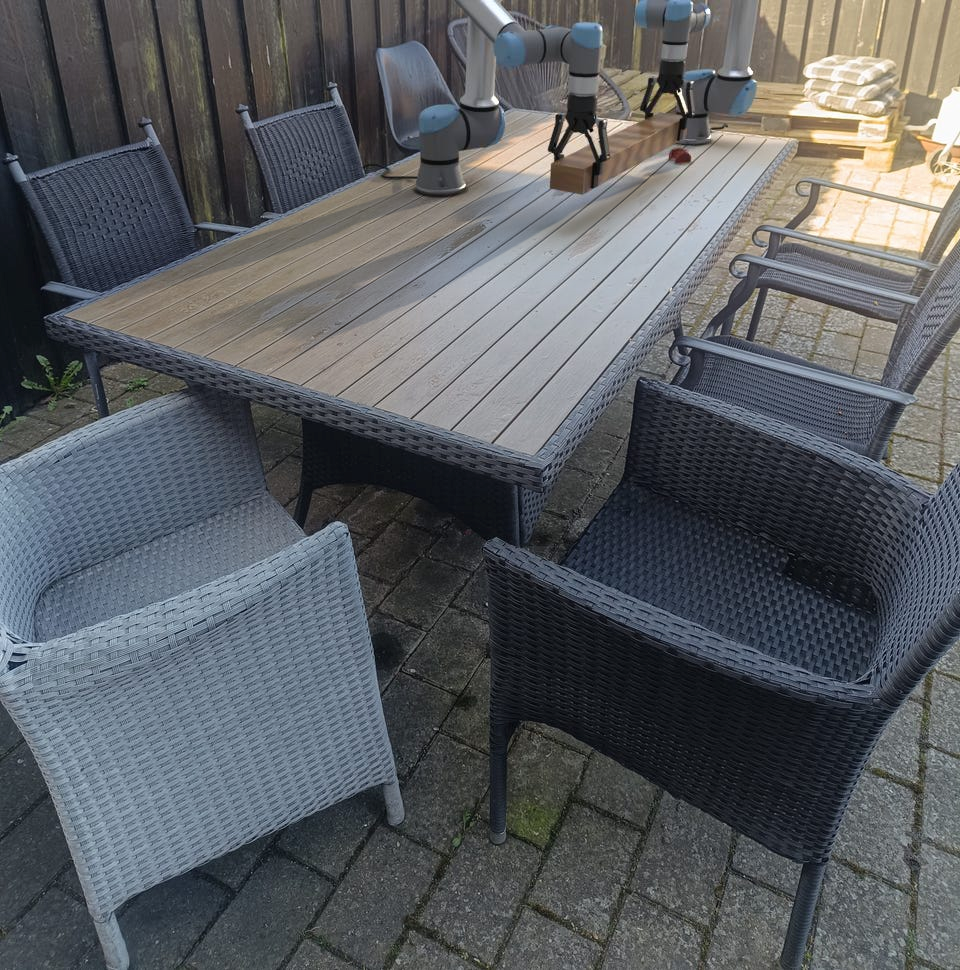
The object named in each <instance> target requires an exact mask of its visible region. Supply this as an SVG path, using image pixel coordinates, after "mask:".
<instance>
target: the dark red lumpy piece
mask: <svg viewBox="0 0 960 970" xmlns="http://www.w3.org/2000/svg"><path fill="white" fill-rule="evenodd" d="M668 160H674V161H673V162H674V164H682V163H683V164H684V163H691V162H692V155H691V153H690V151H689V150H687V149H684V148H683V147H680V146H679V147H674V148H671V149H670V151H669V153H668Z"/></svg>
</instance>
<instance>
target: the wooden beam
mask: <svg viewBox="0 0 960 970" xmlns="http://www.w3.org/2000/svg"><path fill="white" fill-rule="evenodd" d="M680 118H682V115H676V113H668V112H658V113H655V114H653V116H651V117H649V118H646V119H645V118H644V119H643V120H640V121H638V122H636V123H633V124H631V125H629V126H627V127H625V128H623V129H621V130H619V131H617V132H615V133H613V134H611V135H607V136H608V143H609V150H610V156H611V158H610V159H609V160H607V161H605V162H603V167H602V174H601V175H599V179H598V186H597V187H595V188H594V189H596V188H598V187H600V186H602V185H603V184H605V183H607V182H608V181H610V180H612V179H614V178H616V177H618V176H619V175H621V174H623V173H625V172H627V171H628V170H631V169H632V168H634V167H636V166H638V165H639V164H641V163H642V162H645V161H646V160H648V159H650V158H652V157H654V156H656V155H658V154H659V153H661V152H663V151H665V150H667V149H668V148H670V147H672V146H674V145H676V144H678V143H677V142H679V141H677V138H678V130H679V122H680ZM686 131H687V128H686V129H685V130H684V133H683V139H685V138H686ZM683 139H682V140H683ZM597 141H598V143H599V146H600V141H599V140H597ZM600 149H601V148H600ZM593 162H595V158H594V155H593V153H592V150H591V147H590V145H589V144H588V145H587V146H584V147H583V148H581V149H578V150H576V151H574V152H572V153H570V154H568V155H566V156H564V157H563V158H561V159H559V160H557V161H555V162H554V161H552V162H551V163H550V172H549V174H550V176H549V189H550V190H555V191H560V192H564V193H571V194H575V195H576V194H577V195H582V196H583V195H586V194H587V193H589V192H590V191H592V190H593V189H592V188H591V179H592V166H593Z"/></svg>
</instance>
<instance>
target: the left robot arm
mask: <svg viewBox="0 0 960 970" xmlns="http://www.w3.org/2000/svg"><path fill="white" fill-rule="evenodd" d="M450 1H451V2H455V3H456V4H457V6H458V7H459V8H460V9H461V10H462V11H463V12H464V13H465V14H466V16H467V28H466V30H467V31H466V56H465V57H466V60H465V86H464V87H465V89H464V94H463V95H462V96H461V97H460V99H459V108H458V106H457V105H455V104H453V103H452V104H449V103H444V104H436V105H435V104H434V105H431V106H429V107H426V108H425V109H423V110H422V111H421V112H420V114H419V116H418V118H419V119H418V136H419V138H418V139H419V157H420V158H419V159H420V161H419V162H420V164H419V168H418V172H417V175H416V176H415V175H394V176H393V175H391V176H390V175H387V174H388V173H390V171H391V169H390V168H389V167H388V166H385V165H383V164H380V163H379V164H378V163H373V162H371V163H365V164H364V165H363V166H362V167H361V169H364V170H365V169H366V168H368V167H378V168H382V169H384V170H385V171H383V172H382V173H380V177H381V178H383V179H387V180H390V179H391V180H400V179H401V180H402V179H403V180H404V179H405V180H415V183H414V184H415V185H414V186H415V192H417V193H418V194H420V195H424V196H430V197H450V196H455V195H459V194H461V193H463V192H464V191H466V181H465V179H464V176H463V172H462V169H461V165H460V152H462V151H469V150H475V149H476V150H477V149H481V148H482V149H484V148H485V149H486V148H488V147H492V146H495V145H497V144H498V143H499V142H500V141H502V139H503V136H504V134H505V131H506V124H507V121H506V116H505V111H504V108H502V106H501V105H500V101H499V99H498V98H497V97H496V95H495V87H496V84H495V83H496V67H497V66H496V65H497V64H498V65H500V66H501V67H504V68H517V67H523V66H530V65H538V64H539V65H540V64H549V63H556V62H557V63H558V62H560V63H565V64H568V65H569V69H568V74H569V75H568V84H567V92H568V95H567V99H566V100H567V101H566V109H567V111H566V113H564V112H562V111H561V112H558V113H556V114H554V115H555V116H554V126H553V130H552V133H551V137H550V139H549V144H548V145H547V152H548V153H551V154H553V162H555V161H557V160H559V159H561V158H563V157H565V154H563V152H564V149H565V148H566V146H567V144H568V143H569V141H570V139H571V137H572V135H573V134H575V133H578V134H581V135H584V137H585V139H587V142H588V146H589V145H590V147H591V150H592V153H593V155H594V158H595V162H593V166H592V179H591V188H592V190H594V189H596V188H598V187H599V186H598V179H599V175H601V174H602V167H603V162H605V161H607V160H609V159H610V158H611V156H610V150H609V143H608V136H609V135H608V130H607V127H608V119H607V118H603V119H602V118H598V116H597V110H598V99H599V97H598V94H597V93H598V92H599V84H600V71H601V60H602V51H603V26H602V25H601V24H600V23H597V22H589V21H582V22H581V21H580V22H576V23H575V22H574V24H572V26H571V28H567V27H563V26H561V25H548V26H545V27H544V28H541V29H540V28H539V29H530V30H526V29H524V27H523V26H522V25H520V23H519V22H518V21H517V20H516V19H515V18H514V16H512V15H511V13H509V11H507V10H506V8H505V7H504V6H503V5H502V4H501V3H502V2H503V1H504V0H450ZM496 63H497V64H496ZM565 122H567V127H566V128H565V130H564V133H563V135H562V137H561V138H560V136H561V134H562V130H563V127H564V123H565ZM595 125H596V128H597V136H598V138H597V136H596V131H595V127H594V126H595ZM598 141H600V146H599V143H598ZM600 148H601V149H600ZM597 186H598V187H597ZM595 187H596V188H595Z"/></svg>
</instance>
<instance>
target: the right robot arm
mask: <svg viewBox="0 0 960 970" xmlns="http://www.w3.org/2000/svg"><path fill="white" fill-rule="evenodd" d="M759 3H760V0H731V3H730V11H729V17H728V18H729V19H728V26H727V34H726V42H725V43H726V44H725V48H724V56H723V65H722V67H721V68H720V69H719V70H718V71H717V75H716V70H715V69H711V68H707V69H706V68H704V69H694V70H689V71H686V65H687V64H686V63H687V62H686V59H687V56H688V54H687V53H688V47H689V39H690V34H693V33H694V34H695V33H698V32H700V31H703V30H704V29H706V28H707V26H708V25H709V23H710V20H711V10H710V7H709V6H708V5H707V4H706V3H704V2H693V1H692V0H640V1H639V2H638V3H637V4H636V7H635V9H634V23H635V26H637V27H638V28H640V29H641V28H643V29H646V30H656V31H657V30H658V31H659V30H660V31H663V33H662V41H661V42H662V43H661V50H660V58H661V59H660V61H659V68H658V76H657V77H656V76H650V77H649V78H647V86H646V90H645V93H644V95H643V98H642V100H641V104H640V106H639V111H640V112H643V113H644V119H646V118H649V117H651V116H653V115H655V114H654V113H655V112H653V110H654V108H655V107H656V105H657V103H658V102H659V100H660V99H661V97H662V95H663V94H670V95H673V96H674V98H675V100H676V107H675V109H676V110H675V114H676V115H682V118H680V122H679V130H678V138H677V141H679V142H677V143H676V144H678V145H689V146H693V145H694V146H696V145H698V146H699V145H705V144H709V143H710V142H711V137H712V135H711V133H712V131H720V130H723V129H725V128H729V124H728V123H727V122H726V123H723V125H721V126H714V127H710V121H709V115H710V113H714V114H715V113H716V114H722V115H729V116H731V117H732V116H738V117H739V116H740V117H741V116H744V115H745V114H746V113H748V111H749V110H750V108H751V106H752V105H753V103H754V100H755V98H756V95H757V91H758V82H757V80H756V79H753V74H754V72H753V71H752V69H751V68H750V64H751V63H750V62H751V57H752V50H753V44H754V36H755V31H756V24H757V16H758V10H759ZM656 84H658V87H659V88H658V89H657V91H656V93H655V94H654V96H653V98H652V99H651V96H652V94H653V91H654V89H655V86H656ZM650 99H651V100H650ZM686 128H687V131H686V138H685V139H683V133H684V130H685V129H686ZM682 139H683V140H682Z"/></svg>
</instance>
